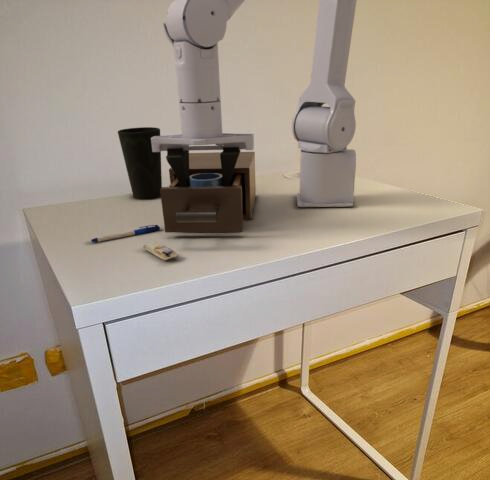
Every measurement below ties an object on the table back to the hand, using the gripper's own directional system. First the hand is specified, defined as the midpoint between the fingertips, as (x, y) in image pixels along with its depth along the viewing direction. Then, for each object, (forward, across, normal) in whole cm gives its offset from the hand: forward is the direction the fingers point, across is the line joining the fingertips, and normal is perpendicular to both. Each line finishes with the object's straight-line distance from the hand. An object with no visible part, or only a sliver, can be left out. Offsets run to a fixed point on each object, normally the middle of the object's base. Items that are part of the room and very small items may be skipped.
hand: (207, 200), depth 71 cm
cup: (+4, -15, +20) cm, 25 cm away
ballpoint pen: (+4, -12, -4) cm, 13 cm away
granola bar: (+4, -5, -12) cm, 14 cm away
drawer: (+3, 0, -1) cm, 3 cm away
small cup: (+1, 0, 0) cm, 1 cm away
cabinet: (+4, 0, +11) cm, 12 cm away
